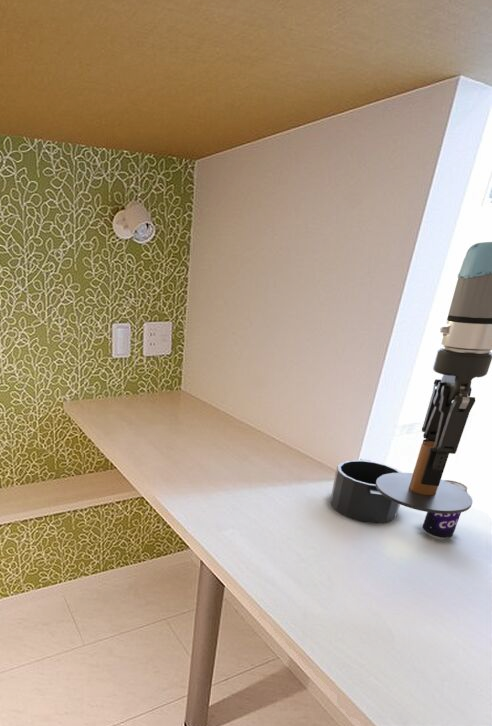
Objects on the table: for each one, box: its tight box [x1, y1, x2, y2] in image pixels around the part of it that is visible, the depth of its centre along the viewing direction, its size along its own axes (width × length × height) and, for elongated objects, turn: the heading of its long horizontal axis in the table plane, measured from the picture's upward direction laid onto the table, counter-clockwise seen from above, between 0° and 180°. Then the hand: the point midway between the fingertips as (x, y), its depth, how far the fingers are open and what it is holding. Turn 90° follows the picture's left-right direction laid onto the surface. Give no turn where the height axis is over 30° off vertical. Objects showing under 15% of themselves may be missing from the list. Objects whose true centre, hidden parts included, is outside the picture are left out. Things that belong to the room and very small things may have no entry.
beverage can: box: [422, 479, 468, 540], centre depth 93 cm, size 6×6×12 cm
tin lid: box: [376, 441, 473, 514], centre depth 80 cm, size 16×16×10 cm
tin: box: [329, 458, 403, 525], centre depth 104 cm, size 15×20×10 cm
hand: (426, 478), depth 80 cm, fingers closed on tin lid, 4 cm apart
